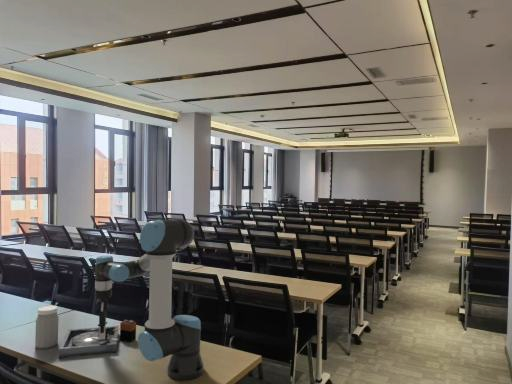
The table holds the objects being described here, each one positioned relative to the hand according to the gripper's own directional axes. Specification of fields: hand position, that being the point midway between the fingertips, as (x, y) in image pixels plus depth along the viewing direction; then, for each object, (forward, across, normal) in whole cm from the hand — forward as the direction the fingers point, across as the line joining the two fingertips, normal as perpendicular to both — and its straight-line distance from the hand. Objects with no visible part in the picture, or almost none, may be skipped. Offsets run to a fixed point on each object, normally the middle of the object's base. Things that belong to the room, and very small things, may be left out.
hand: (102, 338), depth 178 cm
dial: (+4, +8, +6) cm, 11 cm away
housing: (+6, +8, +6) cm, 11 cm away
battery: (+6, +10, -12) cm, 16 cm away
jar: (+6, +12, +26) cm, 29 cm away
